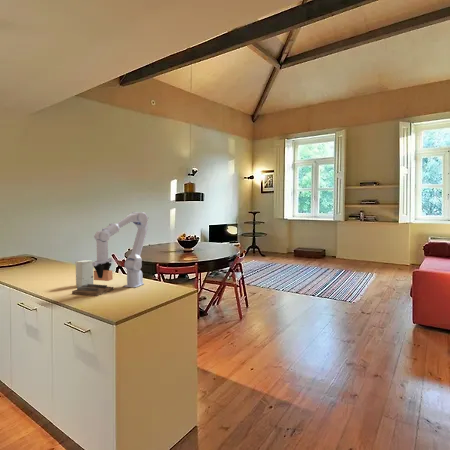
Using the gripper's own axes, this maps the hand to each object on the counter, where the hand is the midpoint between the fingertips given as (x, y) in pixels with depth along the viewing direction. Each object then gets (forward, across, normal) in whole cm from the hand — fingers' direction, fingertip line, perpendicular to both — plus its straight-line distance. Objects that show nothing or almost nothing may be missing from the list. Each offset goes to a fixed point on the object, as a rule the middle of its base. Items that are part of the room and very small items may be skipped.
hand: (102, 276), depth 182 cm
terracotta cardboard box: (+2, 0, 0) cm, 2 cm away
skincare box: (+9, +11, +21) cm, 25 cm away
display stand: (+8, -1, +6) cm, 10 cm away
